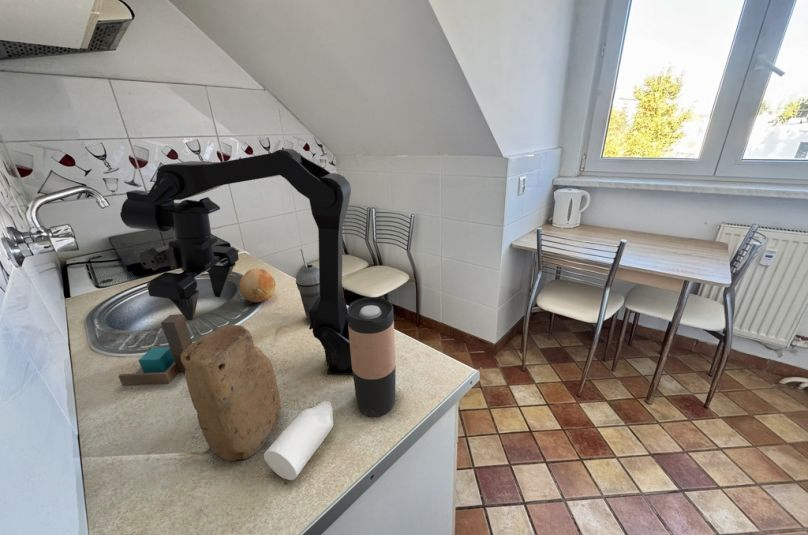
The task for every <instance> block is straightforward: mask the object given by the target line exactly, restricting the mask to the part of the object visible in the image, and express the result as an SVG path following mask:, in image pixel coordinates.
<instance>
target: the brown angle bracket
mask: <svg viewBox="0 0 808 535" xmlns="http://www.w3.org/2000/svg"><path fill="white" fill-rule="evenodd" d="M160 325H161V328H162V330H163V333H164V336H165V339H166V341H167V344H168V345H165V346H150V347H149V348H148V351H149V350H150V349H151V348H163V347H170V349H171V352H172V355H173V358H174V360H175V362H174V363H173V364H172V365H171V366H170V367H169V368H168V369H167V370H166V371H165V372H159V373H144V372H143V370H142V367H141V366H140V368H139V369H138V370H137V371H136V372H134V373H133V372H132V373H120V374H118V380H119V382H120V383H121V385H122V386H123V387H126V386H127V387H128V386H147V385H149V386H150V385H169V384H171V383H172V382H173V381H174V379H175V378H176V377H177V376H178V375H179V374H185V371H186V369H185V367H184V365H183V364H182V362H181V357H180V356H181V354H182V352H183V351H184V350H185V349H186V348H187V347H188V346H189V345H191V344H192V343H193V340H192V338H191V334H190V332H189V329H188V326H187V323H186V320H185V317H184V315H183V314H182V313H181V314H170V315H168V316H167V317H166V318H164V319H163V320H162V321H161V322H160Z"/></svg>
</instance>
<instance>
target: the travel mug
mask: <svg viewBox="0 0 808 535" xmlns="http://www.w3.org/2000/svg"><path fill="white" fill-rule="evenodd" d="M347 318H348V329H349V341H350V352H351V363H352V372H353V375H352V379H353V386H354V392H355V400H356V406H357V408H358V410H359V411H360V412H361V414H363V415H365V416H368V417H371V418H372V417H373V418H374V417H376V418H378V417H381V416H385V415H387V414H388V413H390V412H391V411H392V409H393V408H394V406H395V404H396V378H397V377H396V375H397V374H396V370H397V368H396V361H397V360H396V342H395V340H396V339H395V322H394V318H395V317H394V306H393V304H392V303H391V302H390V301H389V300H387V299H386V298H383V297H377V296H370V297H369V296H368V297H363V298H359V299H356V300H354V301H352V302H351V303H350V304H349V305H348V307H347Z"/></svg>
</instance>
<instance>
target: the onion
mask: <svg viewBox="0 0 808 535" xmlns="http://www.w3.org/2000/svg"><path fill="white" fill-rule="evenodd" d="M275 291H276V280H275V278H274V276H273V275H272V274H271V273H270V272H269V271H267V270H266V269H264V268H253V269H252V268H251V269H249V270H248V271H246V272H245V273H244V274H243V275H242V276H241V278H240V280H239V292H240V295H241V296H242V297H243V298H244V299H245V300H247V301H248V302H250V303H260V302H264V301H268V300H269V299H271V298H272V297H273V296H274V294H275Z"/></svg>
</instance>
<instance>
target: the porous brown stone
mask: <svg viewBox="0 0 808 535" xmlns="http://www.w3.org/2000/svg"><path fill="white" fill-rule="evenodd" d="M180 357H181V362H182V364H183V365H184V367H185V369H186V371H185V373H184V376H185V380H186V381H185V382H186V385H187V389H188V392H189V396H190V399H191V403H192V405H193V408H194V410H195V412H196V417H197V422H198V425H199V428H200V430H201V433H202V435H203V437H204V440H205V441H206V444H207V445H208V447H209V448H210V449H211V451H213V452H214V453H215V454H216V455H217V456H219V457H221V458H222V459H224V460H227V461H229V462H235V461H236V460H246V459H248V458H250V457H251V456H253V455H255V453H257V452H258V451H259V450H260V449H261V448H262V447H263V446H264V445H265V444H266V443H267V441H268V440H269V438H270V436H271V434H272V432H273V431H274V429H275V427H276V425H277V423H278V420H279V417H280V416H279V415H280V410H282V404H281V395H280V391H279V385H278V381H277V377H276V372H275V368H274V366H273V363H272V361H271V359H270V357H268V356H267V354H265V353H264V352H263V350H262V348H260V347H259V346H256V345H255V342H254V336H253V334H252V333H251V332H250V330H249V329H247V328H246V327H245V326H243V325H241V324H225V325H224V324H223V325H221V326H219V327H217V328H215V329H214V330H212V331H210V332H208V333H205V334H203V335H201V337H199V338H198V339H197V340H195V341H192V344H191V345H189V346H188V347H187V348H186V349H185V350H184V351H183V352H182V354H181V356H180Z"/></svg>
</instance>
